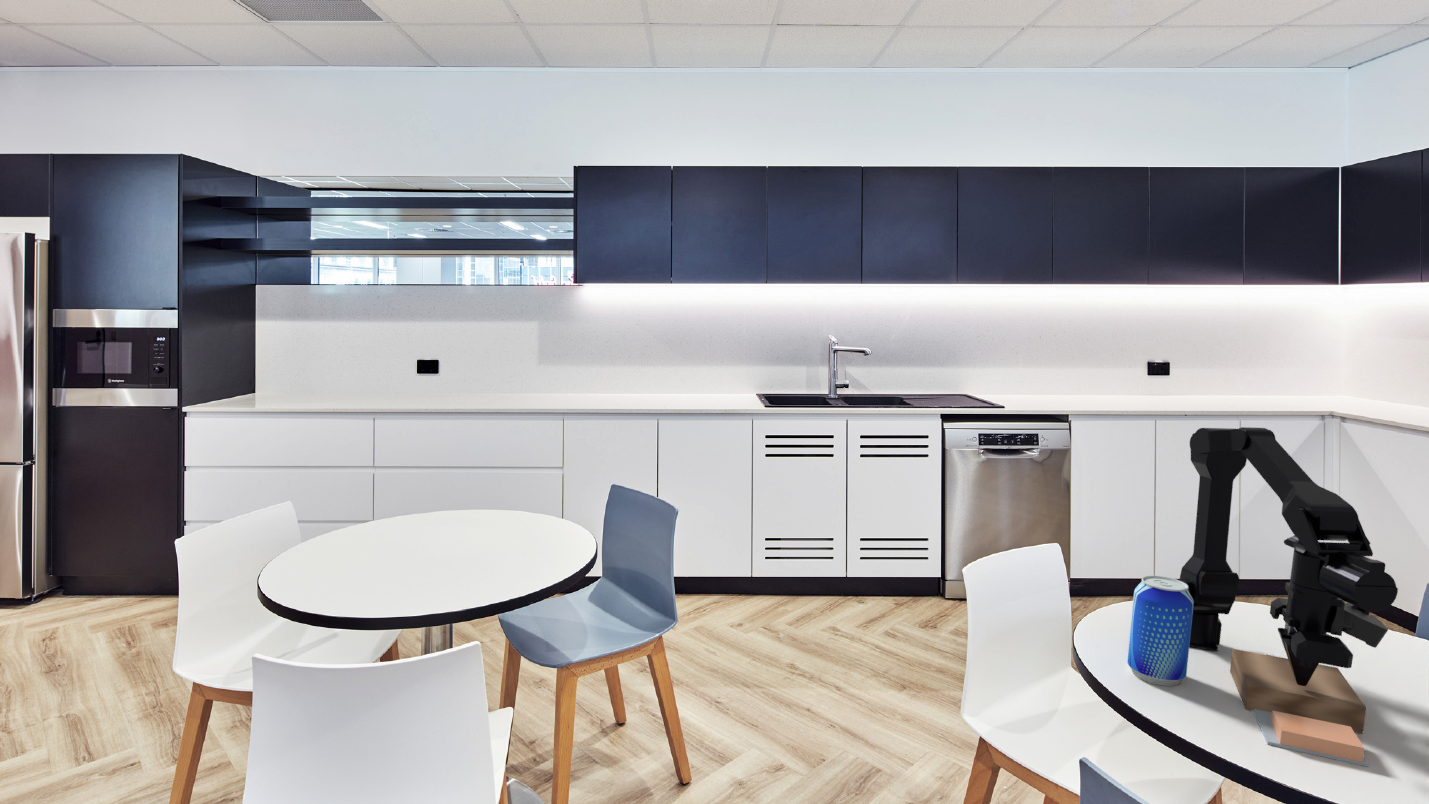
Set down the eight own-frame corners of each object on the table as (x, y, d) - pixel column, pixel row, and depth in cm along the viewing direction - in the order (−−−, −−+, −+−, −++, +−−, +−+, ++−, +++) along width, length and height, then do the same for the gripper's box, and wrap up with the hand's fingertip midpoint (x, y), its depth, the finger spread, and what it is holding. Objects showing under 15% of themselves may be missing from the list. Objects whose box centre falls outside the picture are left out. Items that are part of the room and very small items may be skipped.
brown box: (1245, 709, 115) (1248, 684, 114) (1229, 671, 127) (1232, 648, 127) (1362, 734, 109) (1366, 707, 108) (1334, 691, 121) (1337, 667, 121)
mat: (1267, 744, 105) (1267, 741, 105) (1253, 711, 114) (1253, 708, 114) (1368, 766, 101) (1368, 763, 100) (1345, 730, 109) (1345, 727, 109)
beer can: (1181, 670, 127) (1191, 578, 125) (1188, 693, 119) (1199, 595, 118) (1125, 660, 131) (1133, 570, 129) (1128, 680, 123) (1137, 586, 121)
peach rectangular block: (1272, 710, 110) (1270, 723, 110) (1281, 730, 105) (1279, 743, 105) (1350, 726, 106) (1348, 740, 106) (1364, 748, 101) (1362, 762, 101)
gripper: (1409, 618, 99) (1392, 729, 101) (1364, 574, 116) (1350, 671, 118) (1304, 602, 104) (1290, 708, 106) (1275, 562, 121) (1263, 654, 123)
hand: (1301, 684), depth 113 cm, fingers closed
